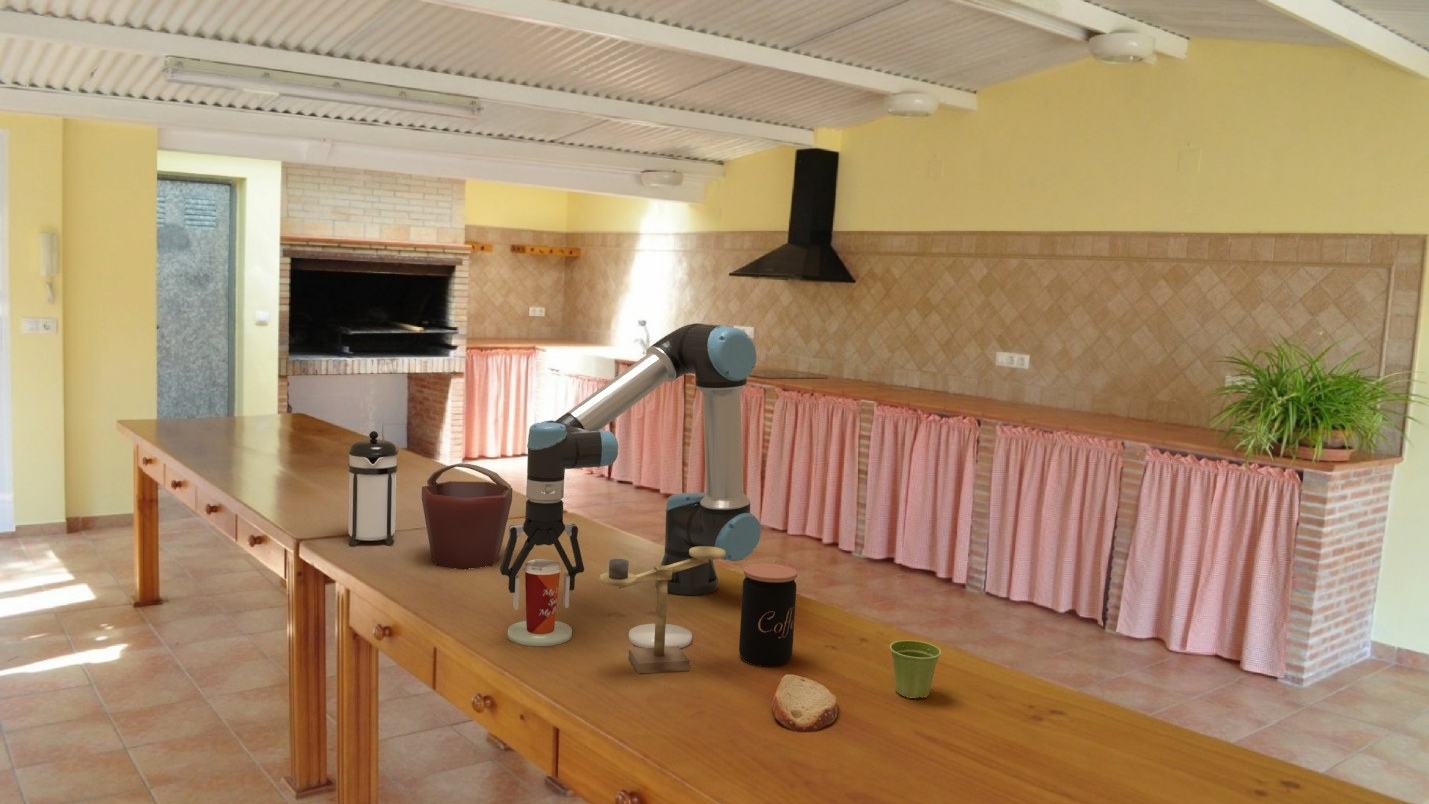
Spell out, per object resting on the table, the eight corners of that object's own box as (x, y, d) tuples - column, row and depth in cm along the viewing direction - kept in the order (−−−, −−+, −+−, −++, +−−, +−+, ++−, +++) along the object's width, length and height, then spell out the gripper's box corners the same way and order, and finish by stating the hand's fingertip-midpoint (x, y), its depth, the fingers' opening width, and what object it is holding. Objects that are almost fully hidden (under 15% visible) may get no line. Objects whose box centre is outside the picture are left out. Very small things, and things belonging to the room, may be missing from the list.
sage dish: (566, 623, 223) (566, 618, 222) (576, 644, 210) (577, 638, 210) (504, 626, 219) (504, 621, 219) (511, 648, 206) (511, 642, 206)
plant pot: (927, 708, 188) (930, 661, 187) (878, 695, 192) (881, 649, 192) (945, 692, 195) (948, 647, 195) (897, 680, 200) (901, 636, 199)
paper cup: (551, 637, 210) (554, 570, 208) (515, 633, 211) (517, 565, 210) (564, 626, 217) (567, 560, 216) (529, 621, 219) (532, 556, 217)
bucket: (528, 564, 268) (532, 467, 265) (456, 579, 251) (459, 476, 248) (470, 545, 283) (472, 454, 280) (398, 558, 266) (400, 461, 264)
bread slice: (795, 681, 198) (797, 662, 197) (870, 713, 185) (872, 693, 184) (727, 703, 186) (728, 683, 185) (801, 739, 173) (803, 717, 172)
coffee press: (415, 540, 285) (417, 431, 282) (367, 551, 271) (369, 437, 268) (372, 529, 294) (374, 424, 291) (324, 539, 281) (326, 429, 277)
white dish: (681, 627, 224) (682, 622, 224) (699, 648, 212) (699, 642, 212) (622, 630, 220) (622, 625, 220) (636, 651, 208) (637, 646, 208)
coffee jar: (755, 670, 201) (760, 580, 199) (728, 652, 211) (733, 565, 209) (802, 664, 206) (807, 575, 204) (774, 646, 216) (779, 561, 214)
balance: (712, 653, 209) (718, 545, 207) (724, 668, 202) (731, 555, 199) (592, 660, 202) (596, 548, 199) (600, 676, 194) (605, 559, 192)
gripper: (490, 503, 204) (487, 614, 207) (602, 502, 211) (597, 610, 214) (487, 496, 212) (484, 603, 214) (595, 495, 218) (590, 599, 221)
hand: (540, 606), depth 214 cm, fingers open, 9 cm apart
